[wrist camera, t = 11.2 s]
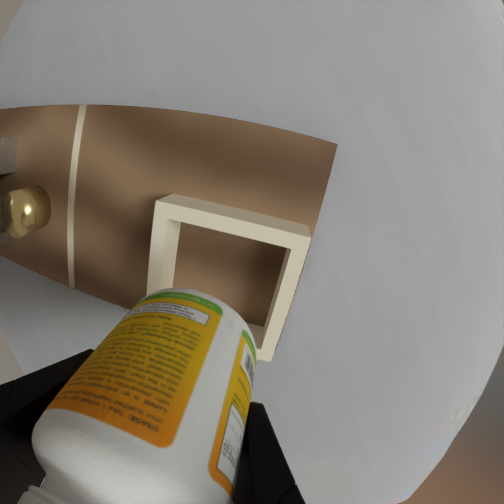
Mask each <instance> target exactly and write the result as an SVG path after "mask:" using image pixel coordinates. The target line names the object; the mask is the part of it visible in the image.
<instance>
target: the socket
mask: <svg viewBox="0 0 504 504" xmlns="http://www.w3.org/2000/svg"><path fill="white" fill-rule="evenodd" d="M181 222H184V223H188V224H192V225H197V226H201V227H205V228H209V229H213V230H217V231H221V232H225V233H229V234H233V235H237V236H242V237H246V238H250V239H254V240H258V241H262V242H266V243H270V244H274V245H278V246H282V247H285V248H287V250H286V253H285V257H284V260H283V264H282V268H281V271H280V274H279V278H278V281H277V285H276V288H275V292H274V295H273V298H272V302H271V305H270V309H269V312H268V315H267V318H266V322H265V325H264V327H262V326H258V325H254V324H250V323H246V322H245V323H246V324H247V325H248V327H249V329H250V331H251V333H252V335H253V338H254V341H255V345H256V352H257V358H256V359H258V360H263V361H267V362H271V359H272V357H273V354H274V351H275V348H276V345H277V343H278V340H279V337H280V334H281V331H282V328H283V325H284V322H285V319H286V317H287V314H288V311H289V308H290V305H291V302H292V299H293V295H294V292H295V289H296V286H297V283H298V280H299V277H300V274H301V270H302V267H303V264H304V261H305V258H306V254H307V251H308V248H309V244H310V241H311V235H310V232H309V229H308V226H307V225H303V224H299V223H296V222H292V221H288V220H284V219H280V218H276V217H272V216H268V215H264V214H260V213H256V212H252V211H248V210H243V209H239V208H235V207H231V206H227V205H222V204H218V203H214V202H209V201H205V200H200V199H196V198H191V197H187V196H182V195H178V194H171V195H168V196H166V197H163V198H161V199H158V200H156V203H155V210H154V218H153V226H152V235H151V245H150V255H149V267H148V280H147V295H149V294H151V293H153V292H155V291H158V290H161V289H165V288H172V287H173V278H174V270H175V262H176V254H177V247H178V240H179V233H180V226H181Z"/></svg>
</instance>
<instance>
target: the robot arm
mask: <svg viewBox="0 0 504 504" xmlns="http://www.w3.org/2000/svg"><path fill="white" fill-rule="evenodd" d="M94 351H95V350H93V349H89V350H86V351H84V352H81V353H79V354H77V355H74V356H72V357H69V358H67V359H65V360H62V361H60V362H57V363H55V364H52V365H50V366H47V367H45V368H43V369H40V370H38V371H35V372H33V373H30V374H28V375H25V376H23V377H20V378H18V379H16V380H13V381H10V382H7V383H4V384H2V385H0V504H17V503H18V501H19V500H20V498H21V496H22V494H23V493H24V492H26V491H29V489H28V487H29V486H30V485H33V486H35V487H38V488H39V487H40V485H41V483H42V481H43V479H44V477H45V476H46V473H45V471H44V470H43V468H42V467H41V465H40V464H39V462H38V460H37V458H36V456H35V453H34V450H33V446H32V433H33V429H34V427H35V424H36V423H37V421H38V420H39V419H40V417H41V416H42V414H43V412H44V411H45V410H46V408H47V407H48V406H49V404H50V403H51V402H52V401H53V399H54V398H55V397H56V396H57V394H58V393H59V392H60V390H61V389H62V388H63V387H64V386H65V384H66V383H67V382H68V380H69V379H70V378H71V377H72V376H73V375H74V374H75V372H76V371H77V370H78V369H79V368H80V366H81V365H82V364H83V363H84V362H85V361H86V360H87V358H88V357H89V356H90V355H91V354H92V353H93V352H94ZM233 504H306V503H305V501H304V499H303V497H302V495H301V493H300V491H299V489H298V487H297V484H295V480H294V478H293V475H292V473H291V471H290V468H289V466H288V464H287V461H286V459H285V457H284V454H283V452H282V449H281V447H280V445H279V442H278V440H277V437H276V435H275V432H274V430H273V428H272V425H271V423H270V420H269V418H268V415H267V413H266V410H265V408H264V405H263V404H262V403H257V402H251V403H250V406H249V411H248V417H247V423H246V430H245V435H244V439H243V445H242V451H241V457H240V463H239V468H238V474H237V480H236V486H235V491H234V496H233Z"/></svg>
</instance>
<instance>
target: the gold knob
mask: <svg viewBox="0 0 504 504" xmlns="http://www.w3.org/2000/svg"><path fill="white" fill-rule="evenodd" d="M50 216H51V203H50V199H49V196H48V194H47V192H46V191H45V189H44V188H43V187H41V186H39V185H33V186H29V187H25V188H21V189H18V190H14V191H10V192H8V193H7V194H6V195H5V197H4V199H3V202H2V218H3V222H4V225H5V228H6V229H7V231H8V233H9V234H10V235H11V236H12V237H14V238H20V237H22V236H24V235H27V234H29V233H31V232H33V231H36V230H38V229H40V228H43V227H45V226H46V225H47V224H48V222H49V220H50Z"/></svg>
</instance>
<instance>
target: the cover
mask: <svg viewBox="0 0 504 504" xmlns="http://www.w3.org/2000/svg"><path fill="white" fill-rule="evenodd" d="M18 137H19V136H0V175H2V174H6V173H11V172H15V170H16V156H17V145H18ZM13 239H15V238H14V237H12V236H11V235H10V234H9V233H8V231H7V229H6V228H5V227H4V226H2V225H0V245H3V244H5V243H7V242H9V241H11V240H13Z"/></svg>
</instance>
